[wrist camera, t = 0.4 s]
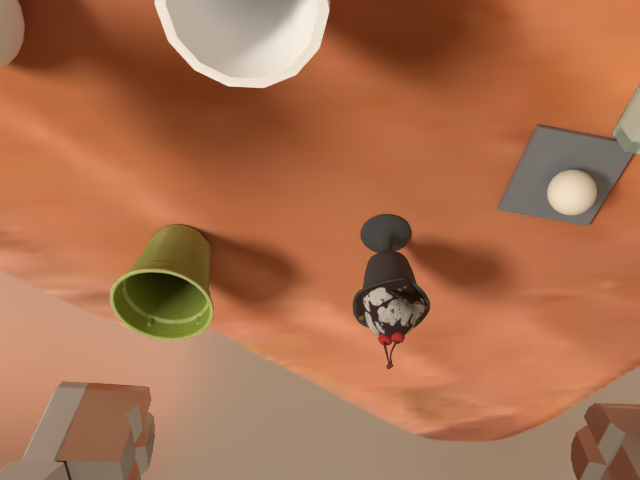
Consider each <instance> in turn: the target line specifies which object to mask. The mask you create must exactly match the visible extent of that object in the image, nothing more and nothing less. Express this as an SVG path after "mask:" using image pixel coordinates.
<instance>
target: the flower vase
mask: <svg viewBox="0 0 640 480" xmlns="http://www.w3.org/2000/svg"><path fill="white" fill-rule="evenodd" d="M24 29H25V22H24V18H23V13H22V9H21V5H20V3H19V1H18V0H0V69H1V68H3V67H5V66H7V65H9V64H10V62H11V61H12V60H13V59H14V58H15V57H16V56H17V55H18V54H19V51H20V48H21V46H22V43H23V41H24Z"/></svg>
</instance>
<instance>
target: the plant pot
mask: <svg viewBox="0 0 640 480" xmlns="http://www.w3.org/2000/svg"><path fill="white" fill-rule="evenodd" d="M210 262H211V247H210V244H209V242H208V241H207V240H206V239H205V238H204V237H203V236H202V234H201V233H200V232H199V231H197V230H196V229H194V228H191V227H189V226H185V225H169V226H167V227H165V228H163V229H160V230H158V231H157V232H156V233H155V234H154V235H153V237H152V239H151V240H150V242H149V243H148V245H147V246H146V248H145V250H144V251H143V253H142V254H141V256H140V257H139V259H138V260H137V262H136V263H135V265H134V266H133V267H132V268H131V269H130V270H129V271H128V272H127V273H125V274H124V275H122V276H121V277H120V278H118V279H117V280H116V282H115V283H114V285H113V286H112V289H111V292H110V304H111V307H112V309H113V311H114V313H115V314H116V316H117V317H118V318H119V319H120V321H121V322H123V323H124V324H125V325H126V326H127V327H129V328H131V329H132V330H134V331H136V332H137V333H140V334H142V335H145V336H148V337H151V338H154V339H160V340H173V341H174V340H183V339H188V338H191V337H194V336H196V335H198V334H200V333H201V332H203V331H204V330H205V329H206V328H207V327H208V326H209V325H210V323H211V321H212V318H213V312H214V307H213V302H212V299H211V297H210V292H209V278H210Z"/></svg>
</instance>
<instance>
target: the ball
mask: <svg viewBox="0 0 640 480" xmlns="http://www.w3.org/2000/svg"><path fill="white" fill-rule="evenodd" d="M596 196H597V188H596V184H595V182H594V180H593V179H592V178H591V177H590V176H589V175H588V174H587V173H585V172H583V171H580V170H566V171H563V172H560V173H559V174H557V175H556V176H555V177H554V178H553V179H552V180H551V182H550V184H549V186H548V190H547V197H548V200H549V203H550V204H551V206H552V207H553V208H554V209H555V210H556V211H558V212H559V213H562V214H565V215H578V214H581V213H583V212H585V211H587V210H588V209H589V208H590V207H591V206H592V205H593V203H594V201H595V199H596Z"/></svg>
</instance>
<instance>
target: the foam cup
mask: <svg viewBox="0 0 640 480" xmlns="http://www.w3.org/2000/svg"><path fill="white" fill-rule="evenodd" d="M154 4H155V7H156V9H157V12H158V15H159V18H160V20H161V23H162V26H163V28H164V31H165V34H166V37H167V39H168V42H169V43H170V44H171V45H172V46H173V47H174V48H175V49H176V50H177V52H178V53H179V54H180V55H181V56H182V57H183V58H184V59H185V60H186V61H187V62H188V64H189V65H190V66H191V67H192V68H193V69H194V70H195V71H197V72H199V73H201V74H203V75H206V76H208V77H210V78H212V79H214V80H216V81H218V82H220V83H222V84H224V85H226V86H230V87H252V88H265V87H268V86H270V85H273V84H275V83H277V82H280V81H282V80H285V79H287V78H290V77H292V76H295V75H296V74H297V73H298V72H299V71H300V70H301V69H302V68H303V67H304V65H305V64H306V63H307V62H308V61H309V60H310V59H311V57H312V56H313V55H314V54H315V53H316V52H317V51H318V50H319V48H320V45H321V41H322V38H323V34H324V30H325V26H326V23H327V19H328V15H329V12H330V0H155V3H154Z"/></svg>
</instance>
